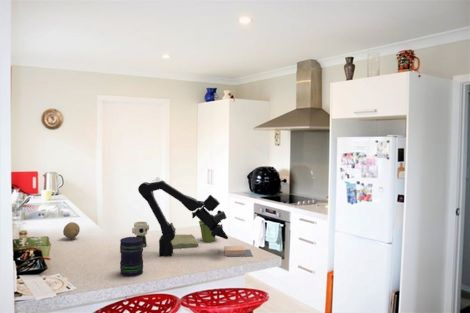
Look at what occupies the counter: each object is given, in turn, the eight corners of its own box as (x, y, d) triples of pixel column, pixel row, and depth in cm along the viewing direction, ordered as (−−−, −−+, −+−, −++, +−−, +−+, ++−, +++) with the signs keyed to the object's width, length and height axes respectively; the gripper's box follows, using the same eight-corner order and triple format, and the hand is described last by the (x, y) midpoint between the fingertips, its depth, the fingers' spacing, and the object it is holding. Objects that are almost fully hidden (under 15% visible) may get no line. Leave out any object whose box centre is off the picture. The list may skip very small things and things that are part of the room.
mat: (227, 256, 200) (227, 256, 200) (225, 250, 210) (225, 249, 210) (252, 256, 201) (252, 255, 201) (250, 250, 212) (250, 249, 212)
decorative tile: (192, 239, 236) (193, 233, 236) (198, 248, 216) (198, 241, 216) (161, 241, 231) (161, 235, 231) (164, 250, 211) (164, 244, 211)
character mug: (136, 249, 211) (136, 225, 211) (128, 247, 216) (128, 223, 215) (152, 245, 219) (152, 222, 219) (145, 243, 224) (145, 220, 223)
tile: (225, 250, 201) (244, 250, 202) (224, 246, 209) (243, 245, 210) (225, 255, 201) (244, 254, 202) (224, 250, 209) (243, 250, 210)
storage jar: (120, 277, 169) (119, 243, 168) (120, 270, 178) (119, 237, 178) (144, 275, 172) (144, 241, 171) (142, 268, 181) (142, 236, 180)
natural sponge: (79, 240, 228) (79, 223, 228) (62, 242, 225) (62, 224, 224) (79, 237, 237) (79, 220, 236) (63, 238, 233) (63, 221, 233)
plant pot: (194, 240, 231) (194, 221, 231) (210, 237, 239) (210, 218, 238) (206, 244, 222) (206, 224, 222) (222, 241, 230) (223, 221, 230)
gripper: (217, 209, 194) (240, 231, 196) (216, 203, 213) (237, 223, 214) (201, 226, 194) (224, 247, 195) (201, 218, 212) (222, 238, 214)
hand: (227, 238), depth 205 cm, fingers closed
